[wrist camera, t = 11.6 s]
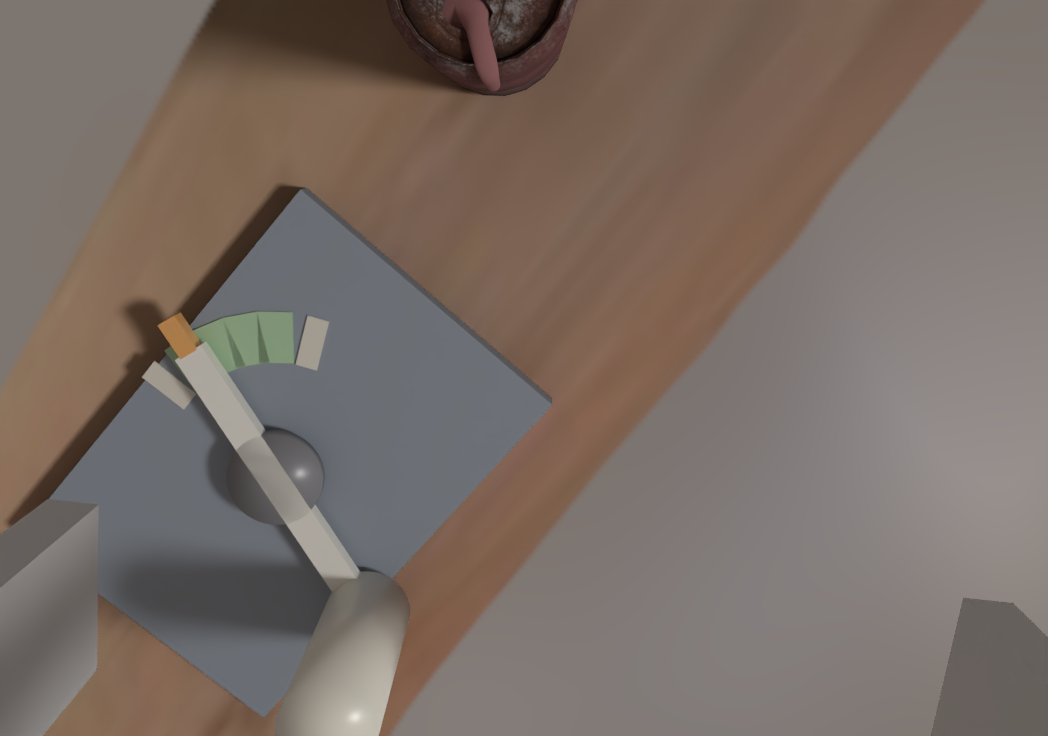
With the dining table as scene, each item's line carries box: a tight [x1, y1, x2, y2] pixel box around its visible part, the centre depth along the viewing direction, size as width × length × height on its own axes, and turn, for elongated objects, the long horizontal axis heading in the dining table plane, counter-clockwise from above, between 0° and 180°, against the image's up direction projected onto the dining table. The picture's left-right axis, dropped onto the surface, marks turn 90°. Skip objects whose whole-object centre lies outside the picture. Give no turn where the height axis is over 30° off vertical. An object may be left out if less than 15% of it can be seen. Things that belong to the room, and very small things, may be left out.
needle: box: [157, 312, 410, 736], centre depth 41 cm, size 19×4×10 cm, turn 30°
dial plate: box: [49, 188, 552, 718], centre depth 47 cm, size 22×15×1 cm
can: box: [386, 0, 577, 96], centre depth 36 cm, size 6×6×14 cm
